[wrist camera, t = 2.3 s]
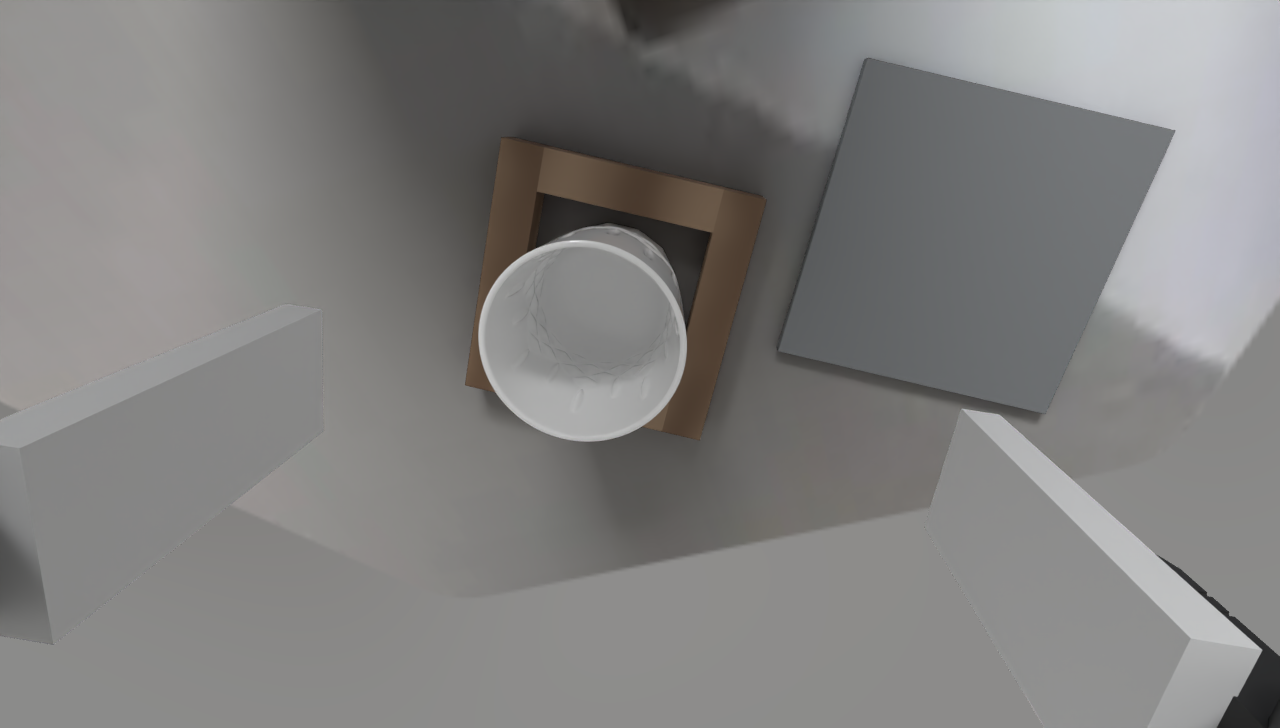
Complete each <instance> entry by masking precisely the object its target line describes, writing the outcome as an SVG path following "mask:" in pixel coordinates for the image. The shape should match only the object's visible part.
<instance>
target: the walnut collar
mask: <svg viewBox="0 0 1280 728" xmlns="http://www.w3.org/2000/svg"><path fill="white" fill-rule="evenodd" d="M545 193H546V194H550V195H554V196H558V197H563V198H567V199H571V200H575V201H580V202H584V203H588V204H592V205H597V206H601V207H605V208H609V209H614V210H618V211H622V212H626V213H631V214H635V215H639V216H643V217H647V218H652V219H656V220H660V221H664V222H669V223H673V224H677V225H681V226H686V227H690V228H694V229H698V230H703V231H707V232H710V236H709V240H708V244H707V248H706V252H705V256H704V259H703V263H702V267H701V271H700V275H699V279H698V283H697V287H696V291H695V295H694V299H693V303H692V306H691V310H690V314H689V318H688V322H687V326H686V336H687V355H686V362H685V367H684V371H683V375H682V378H681V380H680V383H679V385H678V387H677V389H676V391H675V393H674V395H673V396H672V398H671V399H670V401H669V402H668V403H667V405H666V406H665V407H664V408H663V409H662V410H661V412H660V413H659V414H657V415H656V416H655V417H654V418H653V419H652V420H650V421H649V422H648V423H646V424H645V425H643V426H642V427H645V428H649V429H653V430H657V431H662V432H666V433H670V434H674V435H679V436H683V437H687V438H691V439H696V440H700V438H701V434H702V430H703V427H704V423H705V420H706V416H707V412H708V409H709V405H710V402H711V398H712V394H713V391H714V387H715V384H716V380H717V377H718V373H719V369H720V366H721V362H722V359H723V355H724V351H725V348H726V344H727V341H728V337H729V333H730V330H731V326H732V323H733V319H734V315H735V312H736V308H737V305H738V301H739V297H740V294H741V290H742V287H743V283H744V279H745V276H746V272H747V269H748V265H749V262H750V258H751V254H752V251H753V247H754V244H755V240H756V236H757V233H758V229H759V226H760V222H761V218H762V215H763V211H764V208H765V204H766V199H765V198H764V197H763V196H760V195H756V194H752V193H747V192H743V191H739V190H735V189H730V188H726V187H722V186H718V185H713V184H709V183H705V182H701V181H697V180H692V179H688V178H684V177H680V176H675V175H671V174H667V173H663V172H658V171H654V170H650V169H646V168H641V167H637V166H633V165H629V164H624V163H620V162H616V161H612V160H607V159H603V158H599V157H595V156H591V155H586V154H582V153H578V152H574V151H569V150H565V149H561V148H557V147H552V146H548V145H544V144H540V143H535V142H531V141H527V140H523V139H518V138H514V137H501V143H500V150H499V157H498V163H497V170H496V177H495V184H494V191H493V198H492V204H491V211H490V218H489V225H488V232H487V239H486V245H485V252H484V259H483V266H482V273H481V280H480V286H479V293H478V300H477V307H476V314H475V321H474V327H473V334H472V341H471V348H470V355H469V362H468V368H467V375H466V382H465V385H466V386H470V387H475V388H479V389H483V390H487V391H492V392H495V390H494V389H493V387H492V385H491V384H490V382H489V380H488V378H487V375H486V373H485V370H484V367H483V364H482V361H481V356H480V351H479V341H478V331H479V321H480V316H481V312H482V308H483V305H484V302H485V300H486V297H487V295H488V293H489V291H490V289H491V288H492V286H493V285H494V283H495V282H496V280H497V279H498V278H499V276H500V275H501V274H502V273H503V272H504V271H505V270H506V269H507V268H508V267H509V266H510V265H511V264H512V263H513V262H515V261H516V260H517V259H519V258H520V257H521V256H523V255H525V254H526V253H528V252H530V251H532V250H534V249H535V247H536V241H537V235H538V230H539V224H540V218H541V212H542V206H543V200H544V194H545Z"/></svg>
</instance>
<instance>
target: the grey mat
mask: <svg viewBox="0 0 1280 728" xmlns="http://www.w3.org/2000/svg"><path fill="white" fill-rule="evenodd" d="M1174 133H1175V130H1171V129H1167V128H1162V127H1158V126H1154V125H1150V124H1146V123H1141V122H1137V121H1133V120H1129V119H1124V118H1120V117H1116V116H1112V115H1107V114H1103V113H1099V112H1095V111H1091V110H1086V109H1082V108H1078V107H1074V106H1069V105H1065V104H1061V103H1057V102H1052V101H1048V100H1044V99H1040V98H1036V97H1031V96H1027V95H1023V94H1019V93H1014V92H1010V91H1006V90H1002V89H997V88H993V87H989V86H985V85H981V84H976V83H972V82H968V81H964V80H959V79H955V78H951V77H947V76H942V75H938V74H934V73H930V72H926V71H921V70H917V69H913V68H909V67H904V66H900V65H896V64H892V63H888V62H883V61H879V60H875V59H871V58H866V59H865V60H864V63H863V66H862V69H861V73H860V76H859V79H858V82H857V86H856V89H855V92H854V96H853V99H852V102H851V105H850V109H849V112H848V115H847V119H846V122H845V125H844V128H843V132H842V135H841V138H840V142H839V145H838V148H837V151H836V155H835V158H834V161H833V165H832V168H831V171H830V174H829V178H828V181H827V184H826V187H825V191H824V194H823V197H822V201H821V204H820V207H819V210H818V214H817V217H816V220H815V224H814V227H813V230H812V233H811V237H810V240H809V243H808V247H807V250H806V253H805V256H804V260H803V263H802V266H801V270H800V273H799V276H798V279H797V283H796V286H795V289H794V292H793V296H792V299H791V302H790V306H789V309H788V312H787V315H786V319H785V322H784V325H783V329H782V332H781V335H780V338H779V342H778V345H777V350H778V351H780V352H784V353H788V354H792V355H797V356H801V357H805V358H809V359H814V360H818V361H822V362H826V363H831V364H835V365H839V366H843V367H848V368H852V369H856V370H860V371H865V372H869V373H873V374H877V375H882V376H886V377H890V378H894V379H898V380H903V381H907V382H911V383H915V384H920V385H924V386H928V387H932V388H937V389H941V390H945V391H949V392H954V393H958V394H962V395H966V396H971V397H975V398H979V399H983V400H988V401H992V402H996V403H1000V404H1005V405H1009V406H1013V407H1017V408H1022V409H1026V410H1030V411H1034V412H1039V413H1043V414H1046V412H1047V409H1048V407H1049V405H1050V403H1051V401H1052V399H1053V396H1054V394H1055V392H1056V390H1057V388H1058V385H1059V383H1060V381H1061V379H1062V377H1063V375H1064V372H1065V370H1066V368H1067V366H1068V364H1069V362H1070V359H1071V357H1072V355H1073V353H1074V351H1075V348H1076V346H1077V344H1078V342H1079V340H1080V338H1081V335H1082V333H1083V331H1084V329H1085V327H1086V325H1087V322H1088V320H1089V318H1090V316H1091V314H1092V311H1093V309H1094V307H1095V305H1096V303H1097V301H1098V298H1099V296H1100V294H1101V292H1102V290H1103V288H1104V285H1105V283H1106V281H1107V279H1108V277H1109V274H1110V272H1111V270H1112V268H1113V266H1114V264H1115V261H1116V259H1117V257H1118V255H1119V253H1120V251H1121V248H1122V246H1123V244H1124V242H1125V240H1126V237H1127V235H1128V233H1129V231H1130V229H1131V227H1132V224H1133V222H1134V220H1135V218H1136V216H1137V214H1138V211H1139V209H1140V207H1141V205H1142V203H1143V201H1144V198H1145V196H1146V194H1147V192H1148V190H1149V187H1150V185H1151V183H1152V181H1153V179H1154V177H1155V174H1156V172H1157V170H1158V168H1159V166H1160V164H1161V161H1162V159H1163V157H1164V155H1165V153H1166V150H1167V148H1168V146H1169V144H1170V142H1171V140H1172V137H1173V135H1174Z"/></svg>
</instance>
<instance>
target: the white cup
mask: <svg viewBox="0 0 1280 728" xmlns="http://www.w3.org/2000/svg"><path fill="white" fill-rule="evenodd" d="M478 341H479V351H480V356H481V361H482V364H483V367H484V370H485V373H486V375H487V378H488V380H489V382H490V384H491V385H492V387H493V389H494V390H495V392H496V394H497V395H498V396H499V398H500V399H501V400H502V402H503V403H504V404H505V405H506V406H507V407H508V408H509V409H510V410H511V411H512V412H513V413H514V414H515V415H516V416H518V417H519V418H520V419H521V420H523V421H524V422H526V423H527V424H529V425H530V426H532V427H534V428H536V429H538V430H540V431H542V432H544V433H546V434H549V435H552V436H555V437H558V438H562V439H566V440H572V441H582V442H593V441H603V440H609V439H613V438H617V437H620V436H623V435H626V434H628V433H631V432H633V431H635V430H637V429H638V428H640V427H642V426H643V425H645V424H646V423H648V422H649V421H650V420H652V419H653V418H654V417H655V416H656V415H657V414H659V413H660V412H661V410H662V409H663V408H664V407H665V406H666V405H667V403H668V402H669V401H670V399H671V398H672V396H673V395H674V393H675V391H676V389H677V387H678V385H679V383H680V380H681V378H682V375H683V371H684V367H685V362H686V355H687V336H686V328H685V320H684V311H683V304H682V299H681V294H680V290H679V286H678V282H677V279H676V275H675V273H674V271H673V269H672V267H671V265H670V262H669V260H668V258H667V256H666V254H665V252H664V250H663V248H662V247H660V246H659V245H658V244H657V243H655V242H654V241H653V240H652V239H650V238H649V237H648V236H646V235H645V234H644V233H643V232H641V231H640V230H639V229H635V228H631V227H626V226H622V225H617V224H613V223H605V224H601V225H597V226H591V227H585V228H581V229H578V230H575V231H573V232H570V233H568V234H565V235H562V236H560V237H558V238H556V239H554V240H552V241H550V242H548V243H546V244H544V245H542V246H540V247H538V248H536V249H534V250H532V251H530V252H528V253H526V254H525V255H523V256H521V257H520V258H519V259H517V260H516V261H515V262H513V263H512V264H511V265H510V266H509V267H508V268H507V269H506V270H505V271H504V272H503V273H502V274H501V275H500V276H499V278H498V279H497V280H496V282H495V283H494V285H493V286H492V288H491V289H490V291H489V293H488V295H487V297H486V300H485V302H484V305H483V308H482V312H481V316H480V321H479V331H478Z"/></svg>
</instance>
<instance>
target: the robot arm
mask: <svg viewBox="0 0 1280 728" xmlns="http://www.w3.org/2000/svg"><path fill="white" fill-rule="evenodd" d="M323 431H324V421H323V339H322V309H317V308H310V307H304V306H297V305H291V304H284V305H281V306H279V307H276V308H274V309H271V310H269V311H267V312H264V313H262V314H259V315H257V316H254V317H252V318H249V319H247V320H244V321H242V322H239V323H237V324H234V325H232V326H229V327H227V328H225V329H222V330H220V331H217V332H215V333H212V334H210V335H207V336H205V337H202V338H200V339H197V340H195V341H192V342H190V343H187V344H185V345H183V346H180V347H178V348H175V349H173V350H170V351H168V352H165V353H163V354H160V355H158V356H155V357H153V358H150V359H148V360H145V361H143V362H140V363H138V364H136V365H133V366H131V367H128V368H126V369H123V370H121V371H118V372H116V373H113V374H111V375H108V376H106V377H103V378H101V379H98V380H96V381H94V382H91V383H89V384H86V385H84V386H81V387H79V388H76V389H74V390H71V391H69V392H66V393H64V394H61V395H59V396H56V397H54V398H51V399H49V400H47V401H44V402H42V403H39V404H37V405H34V406H32V407H29V408H27V409H24V410H22V411H19V412H17V413H15V414H12V415H9V416H7V417H5V418H2V419H0V636H4V637H10V638H16V639H22V640H28V641H34V642H39V643H46V644H51V645H54V644H55V643H56V642H58V641H59V640H60V639H61V638H63V637H64V636H65V635H66V634H68V633H69V632H70V631H71V630H73V629H74V628H75V627H76V626H78V625H79V624H80V623H81V622H83V621H84V620H85V619H87V618H88V617H89V616H91V615H92V614H93V613H94V612H96V611H97V610H98V609H99V608H101V607H102V606H103V605H104V604H106V603H107V602H108V601H109V600H111V599H112V598H113V597H114V596H116V595H117V594H118V593H119V592H121V591H122V590H123V589H125V588H126V587H127V586H128V585H130V584H131V583H132V582H133V581H135V580H136V579H137V578H138V577H140V576H141V575H142V574H144V573H145V572H146V571H147V570H148V569H150V568H151V567H152V566H154V565H155V564H156V563H157V562H159V561H160V560H161V559H163V558H164V557H165V556H166V555H167V554H169V553H170V552H171V551H172V550H174V549H175V548H176V547H178V546H179V545H180V544H181V543H183V542H184V541H185V540H187V539H188V538H189V537H190V536H192V535H193V534H194V533H195V532H197V531H198V530H199V529H200V528H202V527H203V526H204V525H205V524H206V523H208V522H209V521H211V520H212V519H213V518H214V517H216V516H217V515H218V514H219V513H221V512H222V511H223V510H224V509H226V508H227V507H228V506H230V505H231V504H232V503H233V502H235V501H236V500H237V499H238V498H240V497H241V496H242V495H243V494H245V493H246V492H247V491H248V490H250V489H251V488H252V487H254V486H255V485H256V484H257V483H259V482H260V481H261V480H262V479H264V478H265V477H266V476H267V475H269V474H270V473H271V472H272V471H274V470H275V469H276V468H278V467H279V466H280V465H281V464H283V463H284V462H285V461H286V460H288V459H289V458H290V457H291V456H293V455H294V454H295V453H296V452H298V451H299V450H300V449H302V448H303V447H304V446H305V445H307V444H308V443H309V442H310V441H312V440H313V439H314V438H315V437H317V436H318V435H319V434H321V433H322V432H323ZM924 528H925V530H926V531H927V533H928V535H929V536H930V538H931V539H932V541H933V543H934V544H935V546H936V548H937V549H938V551H939V553H940V555H941V556H942V558H943V560H944V561H945V563H946V565H947V566H948V568H949V569H950V571H951V573H952V575H953V576H954V578H955V580H956V581H957V583H958V585H959V586H960V588H961V590H962V591H963V593H964V595H965V596H966V598H967V600H968V602H969V603H970V605H971V606H972V608H973V610H974V612H975V613H976V615H977V617H978V618H979V620H980V621H981V623H982V625H983V627H984V628H985V630H986V632H987V633H988V635H989V637H990V638H991V640H992V641H993V643H994V645H995V647H996V648H997V650H998V652H999V653H1000V655H1001V657H1002V658H1003V660H1004V662H1005V663H1006V665H1007V667H1008V668H1009V670H1010V672H1011V673H1012V675H1013V677H1014V679H1015V680H1016V682H1017V684H1018V685H1019V687H1020V688H1021V690H1022V692H1023V693H1024V695H1025V697H1026V699H1027V700H1028V702H1029V704H1030V705H1031V707H1032V709H1033V710H1034V712H1035V714H1036V715H1037V717H1038V719H1039V720H1040V722H1041V724H1042V725H1043V727H1044V728H1280V656H1278V655H1277V654H1276V653H1275V652H1274V651H1273V650H1272V649H1270V648H1269V647H1268V646H1267V645H1266V644H1265V643H1264V642H1263V641H1261V640H1260V639H1259V638H1258V637H1257V636H1256V635H1255V634H1253V633H1252V632H1251V631H1250V630H1249V629H1248V628H1247V627H1246V626H1244V625H1243V624H1242V623H1241V622H1240V621H1239V620H1238V619H1236V618H1235V617H1232V616H1229V611H1227V610H1226V609H1225V608H1224V607H1223V606H1222V605H1221V604H1219V603H1218V602H1217V601H1216V600H1215V599H1214V598H1213V597H1208V596H1207V592H1206V591H1205V590H1204V589H1202V588H1201V587H1200V586H1199V585H1198V584H1197V583H1196V582H1194V581H1193V580H1192V579H1191V578H1190V577H1189V576H1188V575H1187V574H1185V573H1184V572H1183V571H1182V570H1181V569H1179V568H1178V567H1176V566H1174V565H1173V564H1171V563H1169V562H1168V561H1166V560H1165V559H1163V558H1161V557H1160V556H1158V555H1156V554H1155V553H1153V552H1152V551H1151V550H1150V549H1149V548H1148V547H1147V546H1146V545H1144V544H1143V543H1142V542H1141V541H1140V540H1139V539H1138V538H1137V537H1135V536H1134V535H1133V534H1132V533H1131V532H1130V531H1129V530H1128V529H1127V528H1126V527H1124V526H1123V525H1122V524H1121V523H1120V522H1119V521H1118V520H1117V519H1116V518H1114V517H1113V516H1112V515H1111V514H1110V513H1109V512H1108V511H1107V510H1105V509H1104V508H1103V507H1102V506H1101V505H1100V504H1099V503H1098V502H1096V501H1095V500H1094V499H1093V498H1092V497H1091V496H1090V495H1089V494H1088V493H1086V492H1085V491H1084V490H1083V489H1082V488H1081V487H1080V486H1079V485H1078V484H1076V483H1075V482H1074V481H1073V480H1072V479H1071V478H1070V477H1069V476H1068V475H1066V474H1065V473H1064V472H1063V471H1062V470H1061V469H1060V468H1059V467H1057V466H1056V465H1055V464H1054V463H1053V462H1052V461H1051V460H1050V459H1049V458H1047V457H1046V456H1045V455H1044V454H1043V453H1042V452H1041V451H1040V450H1039V449H1037V448H1036V447H1035V446H1034V445H1033V444H1032V443H1031V442H1030V441H1028V440H1027V439H1026V438H1025V437H1024V436H1023V435H1022V434H1021V433H1020V432H1018V431H1017V430H1016V429H1015V428H1014V427H1013V426H1012V425H1011V424H1010V423H1008V422H1007V421H1006V420H1005V419H1004V418H1003V417H1002V416H1001V415H999V414H993V413H986V412H980V411H973V410H967V409H961V411H960V414H959V417H958V421H957V424H956V427H955V430H954V433H953V437H952V440H951V443H950V446H949V449H948V452H947V456H946V459H945V462H944V465H943V468H942V471H941V475H940V478H939V481H938V484H937V487H936V491H935V494H934V497H933V500H932V503H931V506H930V510H929V513H928V516H927V520H926V523H925V526H924Z"/></svg>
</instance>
